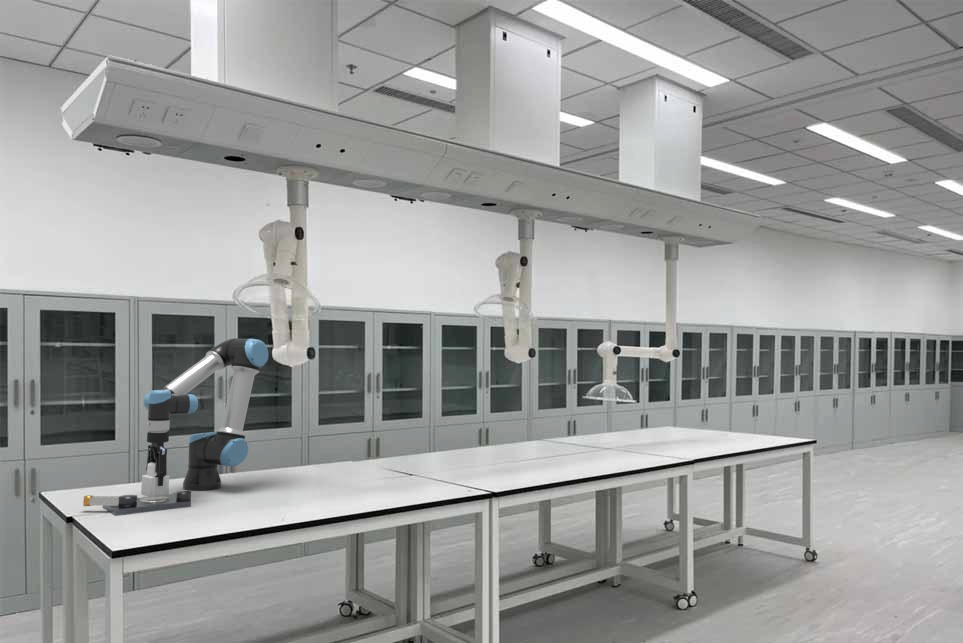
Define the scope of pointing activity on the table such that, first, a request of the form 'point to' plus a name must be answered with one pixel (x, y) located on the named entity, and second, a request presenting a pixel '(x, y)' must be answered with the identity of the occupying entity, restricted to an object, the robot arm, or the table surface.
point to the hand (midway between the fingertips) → (155, 492)
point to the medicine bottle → (153, 482)
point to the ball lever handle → (110, 500)
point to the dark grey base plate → (149, 505)
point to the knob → (183, 496)
